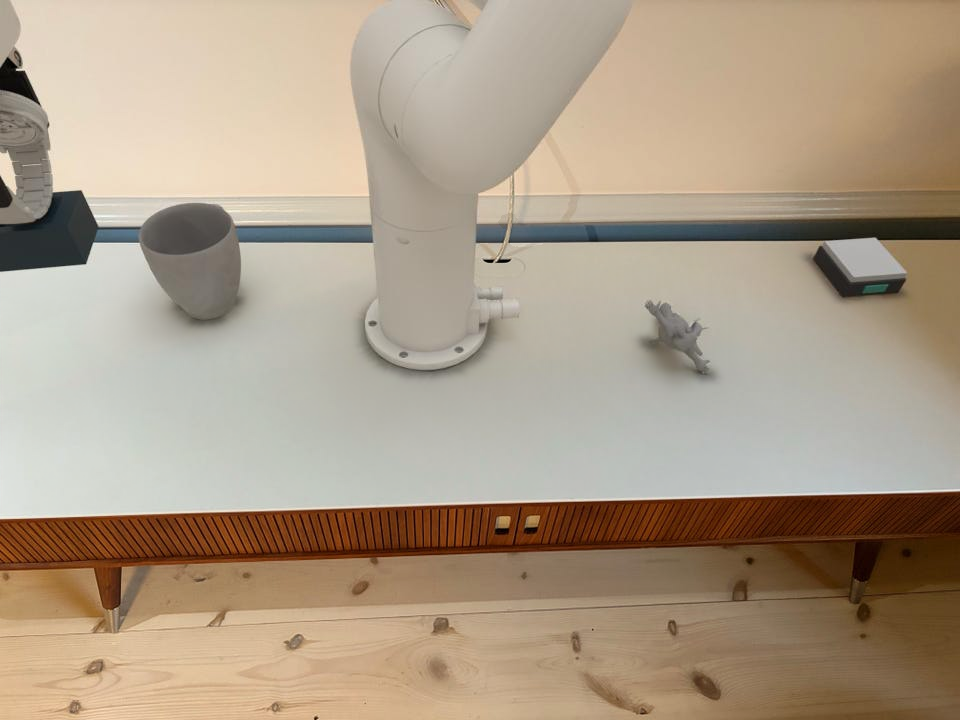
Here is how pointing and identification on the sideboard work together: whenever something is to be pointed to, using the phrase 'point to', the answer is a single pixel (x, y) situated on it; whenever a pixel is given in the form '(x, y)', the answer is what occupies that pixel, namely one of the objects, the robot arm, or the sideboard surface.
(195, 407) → the sideboard surface
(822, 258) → the scale
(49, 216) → the watch
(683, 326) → the grey creature figurine
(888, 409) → the sideboard surface
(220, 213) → the mug
